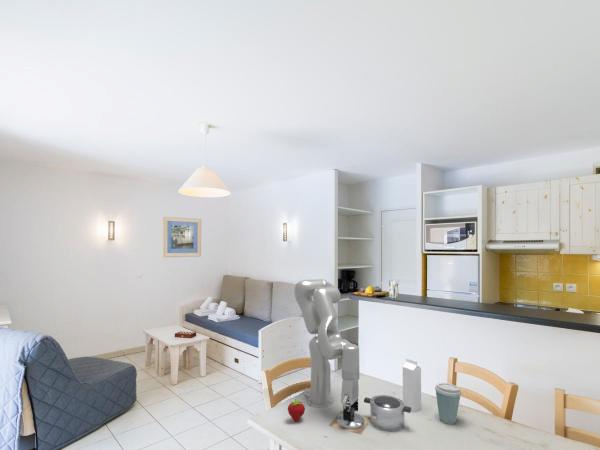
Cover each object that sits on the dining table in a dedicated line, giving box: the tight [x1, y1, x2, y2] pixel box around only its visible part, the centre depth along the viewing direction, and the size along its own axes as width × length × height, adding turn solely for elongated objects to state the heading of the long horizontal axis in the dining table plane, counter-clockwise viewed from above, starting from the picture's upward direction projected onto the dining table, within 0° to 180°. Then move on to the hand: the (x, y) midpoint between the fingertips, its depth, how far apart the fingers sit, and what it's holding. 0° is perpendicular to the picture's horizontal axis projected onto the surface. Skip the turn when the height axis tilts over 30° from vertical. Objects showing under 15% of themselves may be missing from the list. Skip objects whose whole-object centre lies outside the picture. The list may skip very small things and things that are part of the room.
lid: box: [336, 405, 365, 430], centre depth 145 cm, size 12×12×6 cm
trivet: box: [328, 410, 370, 435], centre depth 145 cm, size 14×14×1 cm
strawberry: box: [287, 398, 306, 422], centre depth 146 cm, size 6×8×10 cm
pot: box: [363, 394, 412, 433], centre depth 144 cm, size 20×14×9 cm
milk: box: [402, 358, 422, 413], centre depth 159 cm, size 6×6×22 cm
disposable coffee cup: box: [434, 382, 462, 425], centre depth 148 cm, size 11×11×15 cm
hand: (350, 415), depth 144 cm, fingers open, 9 cm apart
